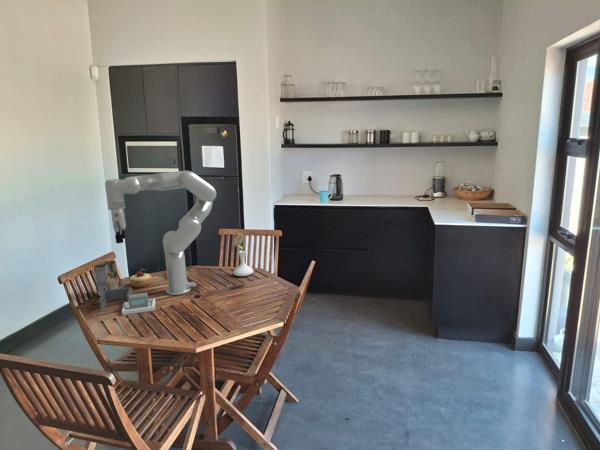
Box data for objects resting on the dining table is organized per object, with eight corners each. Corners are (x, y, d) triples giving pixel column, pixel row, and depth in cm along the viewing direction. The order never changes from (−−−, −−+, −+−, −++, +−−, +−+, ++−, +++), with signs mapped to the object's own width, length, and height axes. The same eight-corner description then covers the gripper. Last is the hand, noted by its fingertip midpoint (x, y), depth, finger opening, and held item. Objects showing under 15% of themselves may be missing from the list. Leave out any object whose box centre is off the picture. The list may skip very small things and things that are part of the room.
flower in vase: (232, 273, 258) (229, 230, 253) (252, 270, 260) (249, 228, 255) (234, 279, 245) (231, 235, 240) (255, 277, 248) (252, 233, 243)
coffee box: (108, 289, 239) (104, 260, 235) (119, 290, 237) (115, 260, 234) (97, 295, 230) (93, 265, 227) (109, 296, 228) (104, 265, 225)
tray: (155, 302, 217) (155, 298, 217) (154, 311, 206) (154, 306, 205) (124, 306, 213) (124, 302, 213) (122, 315, 202) (121, 311, 202)
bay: (133, 296, 227) (131, 286, 226) (130, 305, 214) (129, 295, 213) (104, 300, 223) (103, 290, 222) (100, 309, 210) (99, 299, 209)
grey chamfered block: (148, 304, 213) (147, 292, 212) (148, 308, 208) (146, 295, 207) (130, 306, 211) (129, 294, 210) (130, 310, 206) (128, 298, 205)
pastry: (125, 288, 241) (123, 272, 239) (141, 281, 252) (138, 266, 250) (143, 289, 236) (140, 273, 235) (158, 282, 247) (155, 266, 245)
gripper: (123, 207, 205) (127, 243, 208) (126, 202, 221) (130, 236, 224) (105, 208, 203) (110, 245, 206) (110, 203, 219) (114, 237, 222)
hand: (120, 240), depth 215 cm, fingers open, 9 cm apart
